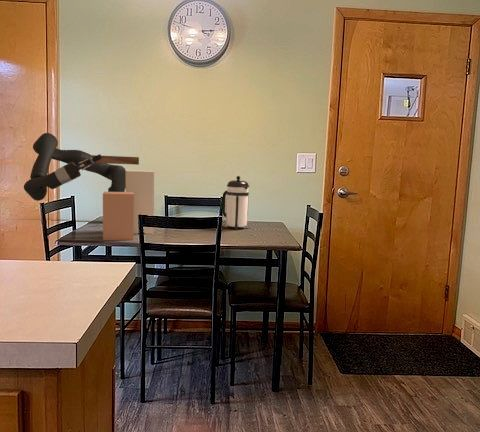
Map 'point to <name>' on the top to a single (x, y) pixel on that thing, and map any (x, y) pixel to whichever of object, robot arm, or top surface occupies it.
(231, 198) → the coffee press
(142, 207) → the tall plinth
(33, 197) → the robot arm
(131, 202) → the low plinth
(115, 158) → the walnut bar
